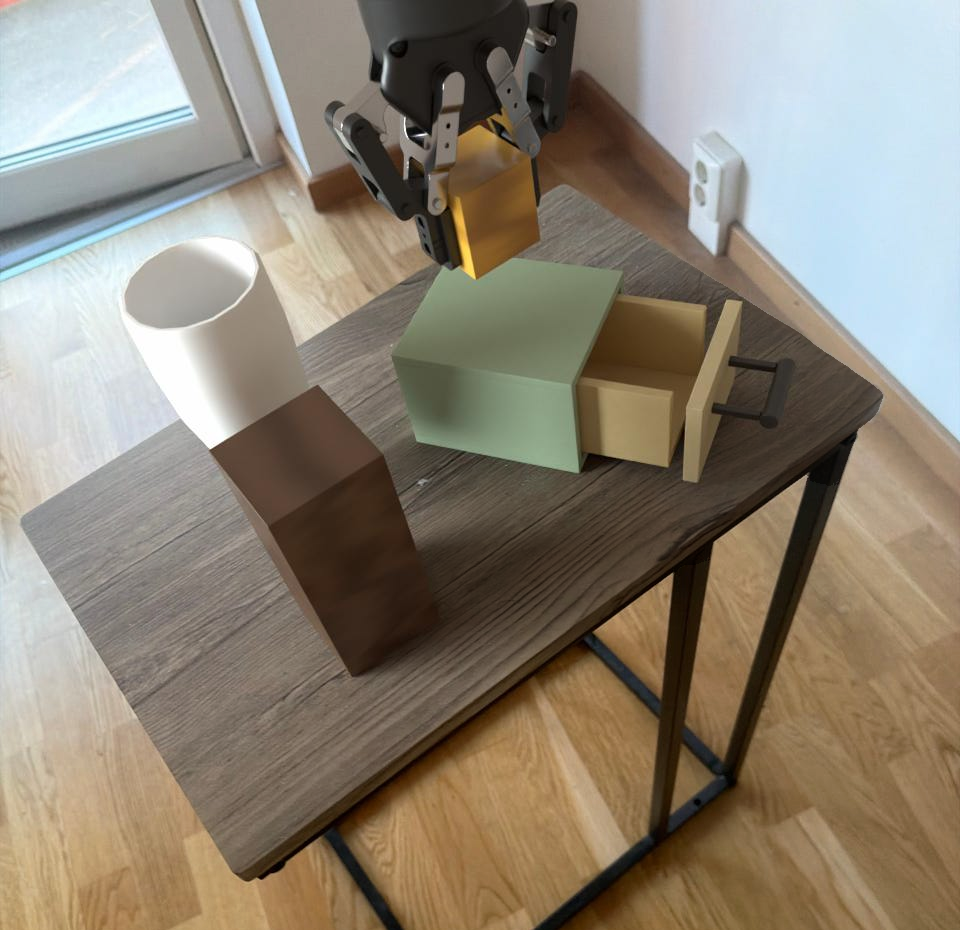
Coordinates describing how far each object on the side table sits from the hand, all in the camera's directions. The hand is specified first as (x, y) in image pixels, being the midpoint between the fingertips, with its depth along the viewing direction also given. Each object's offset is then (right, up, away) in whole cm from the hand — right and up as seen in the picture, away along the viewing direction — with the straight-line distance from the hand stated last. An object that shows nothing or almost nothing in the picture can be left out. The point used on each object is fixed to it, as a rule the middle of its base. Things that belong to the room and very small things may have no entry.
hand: (485, 238), depth 53 cm
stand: (-9, -21, +18) cm, 29 cm away
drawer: (+15, -5, +22) cm, 27 cm away
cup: (-16, -11, +26) cm, 32 cm away
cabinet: (+3, -3, +27) cm, 27 cm away
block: (0, 0, 0) cm, 0 cm away
